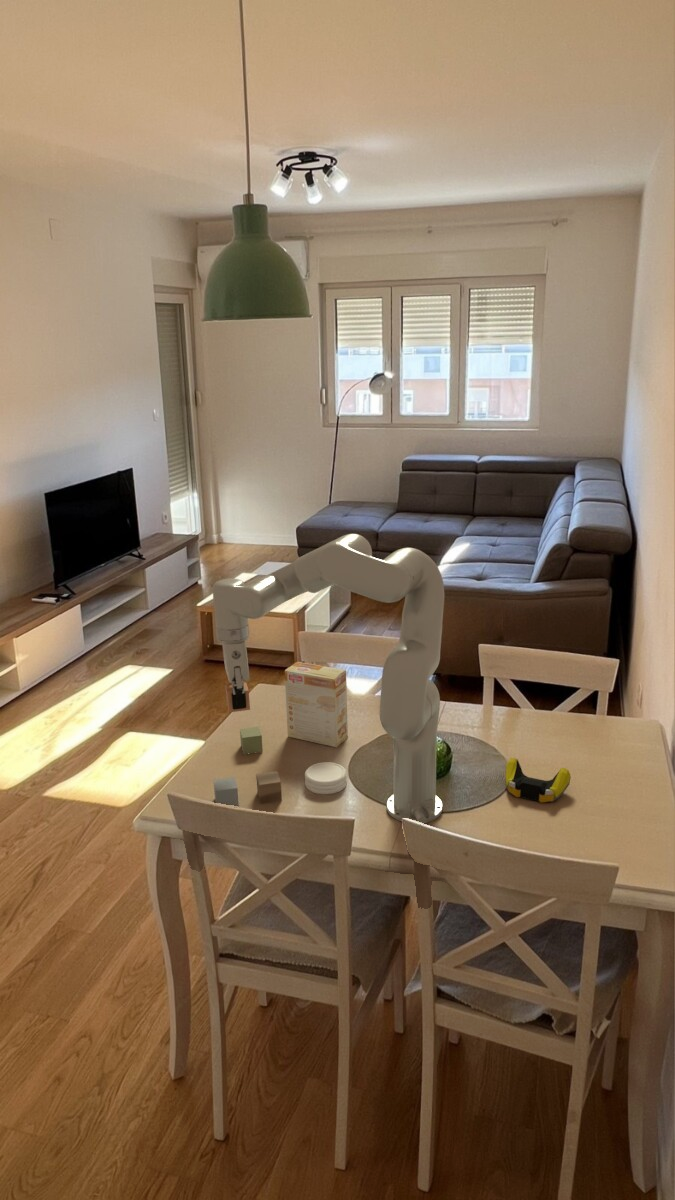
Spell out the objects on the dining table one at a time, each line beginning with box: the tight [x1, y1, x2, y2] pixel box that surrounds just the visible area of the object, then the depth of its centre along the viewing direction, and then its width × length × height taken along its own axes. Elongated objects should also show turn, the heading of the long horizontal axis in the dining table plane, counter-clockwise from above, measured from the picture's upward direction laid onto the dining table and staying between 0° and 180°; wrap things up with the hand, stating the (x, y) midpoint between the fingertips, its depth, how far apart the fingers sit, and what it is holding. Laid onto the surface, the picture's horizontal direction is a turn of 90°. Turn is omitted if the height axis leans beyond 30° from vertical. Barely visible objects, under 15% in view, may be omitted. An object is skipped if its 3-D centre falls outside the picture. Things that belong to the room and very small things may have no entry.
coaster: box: [304, 761, 348, 795], centre depth 198 cm, size 10×10×4 cm
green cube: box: [239, 726, 264, 755], centre depth 215 cm, size 5×5×5 cm
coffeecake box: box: [284, 661, 349, 748], centre depth 218 cm, size 15×7×20 cm, turn 63°
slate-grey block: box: [213, 776, 240, 807], centre depth 191 cm, size 5×5×5 cm
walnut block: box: [255, 770, 283, 804], centre depth 193 cm, size 5×5×5 cm
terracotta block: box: [224, 681, 251, 713], centre depth 197 cm, size 5×5×5 cm
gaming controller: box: [504, 757, 571, 803], centre depth 193 cm, size 15×6×10 cm
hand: (238, 702), depth 198 cm, fingers closed on terracotta block, 4 cm apart
